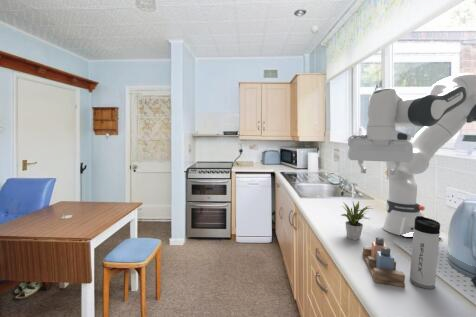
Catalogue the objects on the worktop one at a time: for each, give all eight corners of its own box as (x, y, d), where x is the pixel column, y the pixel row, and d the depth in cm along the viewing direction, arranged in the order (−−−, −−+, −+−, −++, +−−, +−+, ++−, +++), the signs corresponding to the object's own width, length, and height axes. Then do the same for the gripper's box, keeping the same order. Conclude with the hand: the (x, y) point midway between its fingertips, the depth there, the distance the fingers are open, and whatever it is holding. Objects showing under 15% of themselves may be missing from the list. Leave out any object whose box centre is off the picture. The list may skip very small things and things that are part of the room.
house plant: (378, 247, 103) (380, 207, 101) (341, 243, 106) (344, 205, 104) (367, 233, 117) (370, 198, 115) (335, 231, 120) (337, 196, 118)
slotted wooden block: (386, 258, 94) (387, 248, 93) (404, 287, 76) (405, 276, 75) (362, 254, 96) (363, 245, 96) (374, 282, 78) (375, 271, 77)
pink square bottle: (383, 258, 91) (384, 237, 90) (386, 264, 87) (388, 241, 86) (370, 257, 92) (372, 235, 91) (373, 262, 88) (375, 240, 87)
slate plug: (389, 270, 83) (391, 246, 82) (393, 276, 79) (395, 252, 79) (375, 268, 84) (377, 245, 84) (378, 274, 80) (380, 250, 80)
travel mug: (423, 276, 81) (428, 215, 80) (440, 289, 75) (446, 223, 73) (404, 276, 81) (409, 215, 79) (419, 289, 75) (425, 223, 73)
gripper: (349, 134, 90) (347, 173, 91) (416, 135, 84) (413, 176, 86) (347, 134, 96) (345, 171, 97) (409, 135, 90) (406, 174, 92)
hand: (377, 173), depth 91 cm, fingers open, 8 cm apart
